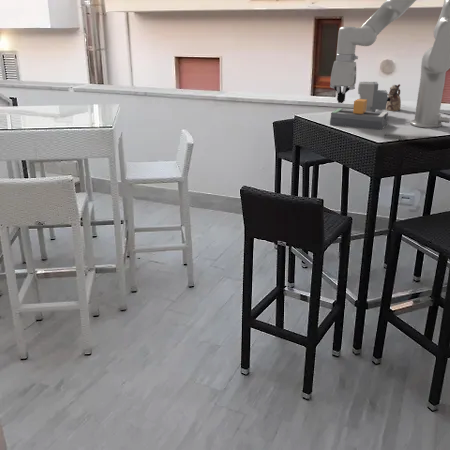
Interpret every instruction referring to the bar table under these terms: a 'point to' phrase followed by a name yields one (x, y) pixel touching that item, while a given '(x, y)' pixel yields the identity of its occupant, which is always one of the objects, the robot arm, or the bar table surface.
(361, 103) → the toggle
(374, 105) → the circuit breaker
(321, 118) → the bar table surface
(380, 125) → the switch panel
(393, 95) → the figurine
